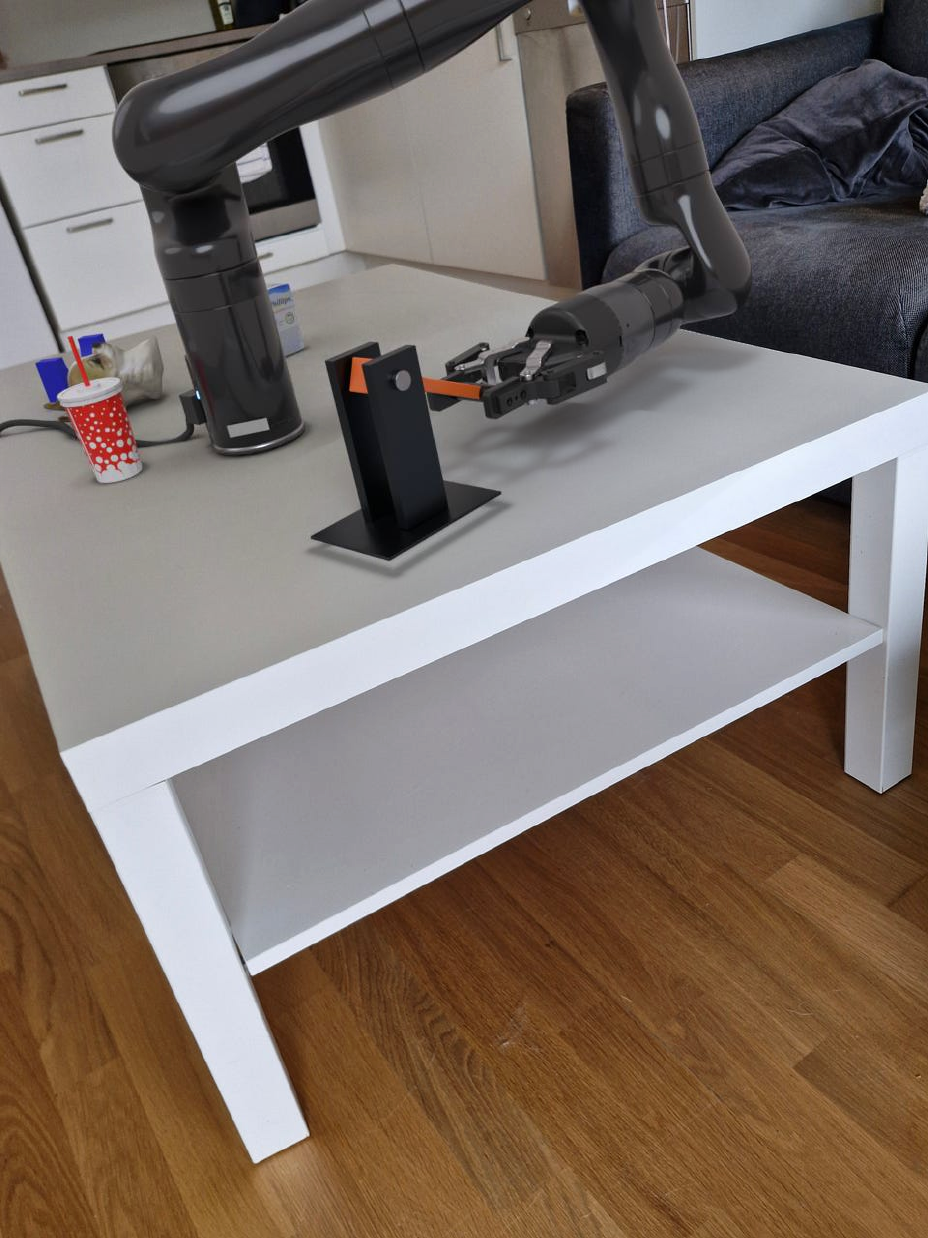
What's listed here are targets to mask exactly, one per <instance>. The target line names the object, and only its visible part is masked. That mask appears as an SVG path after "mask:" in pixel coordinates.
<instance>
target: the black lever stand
mask: <svg viewBox="0 0 928 1238" xmlns="http://www.w3.org/2000/svg"><path fill="white" fill-rule="evenodd" d="M380 348H381V347H380V344H379V342H378V341H368V342H365V343H362V344H360V345H358V346H355V347H354V348H353V347H352V348H350V349H349V350H346V351H343V352H341V353H339V354H337V355H334V356H332V357H329V358H328V359H325V360H324V364H325V369H326V373H327V376H328V377H327V378H328V380H329V386H330V389H331V393H332V396H333V401H334V405H335V410H336V413H337V417H338V421H339V424H340V429H341V433H342V436H343V441H344V446H345V450H346V452H347V456H348V461H349V466H350V469H351V474H352V477H353V482H354V485H355V489H356V493H357V497H358V501H359V506H360V508H359V509H357V510H356V511H354V512H352V513H350V514H348V515H346V516H345V517H343V518H341V519H339V520H338V521H335V522H334V523H331V524H330V525H328V526H326V527H324V528H323V529H321V530H319V531H317V532H316V533H314V534H312V535H310V539H311V540H314V541H317V542H321V543H324V544H327V545H331V546H334V547H338V548H341V549H345V550H349V551H353V552H355V553H359V554H363V555H367V556H370V557H373V558H376V559H380V560H383V561H387V562H391V561H392V560H394V559H396V558H397V557H399V556H400V555H403V554H404V553H405V552H408V551H409V550H411V549H412V548H414V547H416V546H417V545H420V544H421V543H422V542H424V541H426V540H428V539H429V538H431V537H433V536H434V535H436V534H437V533H439V532H441V531H442V530H444V529H446V528H448V527H449V526H451V525H452V524H454V523H456V522H457V521H460V520H461V519H462V518H465V516H467V515H469V514H470V513H473V512H474V511H475V510H476V511H477V509H479V508H481V507H482V506H485V505H486V504H487V503H489V502H490V501H493V500H494V499H496V498H497V497H499V496H501V495H502V491H501V490H496V489H492V488H486V487H481V486H475V485H470V484H467V483H461V482H456V481H450V480H445V479H444V477H443V472H442V468H441V463H440V458H439V453H438V449H437V444H436V439H435V434H434V428H433V424H432V420H431V414H430V408H429V403H428V398H427V393H426V392H425V389H424V385H423V380H422V377H423V375H422V370H421V366H420V361H419V355H418V350H417V345H415V344H404V345H402V346H400V347H398V348H395V349H393V350H391V351H388V352H386V353H383V354H382V352H381V349H380ZM353 357H357V358H368V359H372V360H370V361H368V362H366V363H363V364H362V365H361V366H362V370H363V374H364V379H365V383H366V387H367V392H368V394H365V393H357V392H350V391H349V389H350V379H351V369H352V359H353Z"/></svg>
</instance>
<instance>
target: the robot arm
mask: <svg viewBox="0 0 928 1238" xmlns="http://www.w3.org/2000/svg"><path fill="white" fill-rule="evenodd" d="M533 1H534V0H307V1H305V2H304V3H302V4H300V5H299V6H297V7H296V8H294V9H293V10H292V11H289V13H287V14H286V15H284V16H283V17H281V18H280V19H279V20H277V21H276V22H274V23H273V24H271V25H270V26H268V28H266V29H265V30H263V31H262V32H260V33H259V34H258V35H256V36H255V37H253V38H251V39H250V40H248V41H246V42H245V43H243V44H241V45H239V46H237V47H235V48H232V49H231V50H228V51H226V52H224V53H222V54H219V55H217V56H215V57H212V58H210V59H209V58H208V59H207V60H204V61H202V62H199V63H197V64H195V65H191V66H189V67H186V68H183V69H181V70H178V71H175V72H172V73H169V74H166V75H163V76H159V77H154V78H150V79H147V80H144V81H142V82H139V83H138V84H137V85H135V86H133V87H131V88H130V89H129V91H127V92H126V94H125V95H123V97H122V98H121V100H120V102H119V103H118V105H117V107H116V110H115V113H114V115H113V120H112V125H111V142H112V148H113V152H114V154H115V157H116V160H117V162H118V164H119V165H120V167H121V169H122V170H123V172H125V174H126V175H127V176H128V177H129V178H131V180H132V181H134V182H136V183H137V184H138V186H139V189H140V193H141V196H142V199H143V203H144V206H145V210H146V213H147V217H148V220H149V225H150V230H151V236H152V244H153V245H152V246H153V253H154V258H155V261H156V265H157V267H158V270H159V273H160V277H161V278H162V282H163V286H164V289H165V292H166V295H167V299H168V302H169V305H170V308H171V311H172V314H173V318H174V320H175V323H176V327H177V330H178V333H179V336H180V340H181V342H182V346H183V350H184V352H185V354H184V362H185V364H186V367H187V370H188V374H189V377H190V380H191V384H192V386H193V389H189V390H188V391H185V392H182V393H180V394H178V398H179V400H180V403H181V407H182V410H183V413H184V416H185V418H184V419H185V427H186V429H185V430H184V431H183V432H182V433H181V434H180V435H178V436H177V437H175V438H172V439H168V440H162V441H152V440H142V439H135V442H136V445H137V448H148V447H156V446H162V445H170V444H174V443H175V444H176V443H182V442H186V441H187V440H189V439H190V438H192V436H193V434H194V433H195V425H196V426H202V425H205V427H206V430H207V434H208V437H209V440H210V443H211V444H212V446H213V448H214V449H213V450H214V451H215V452H216V453H217V454H219V455H225V456H243V455H251V454H255V453H261V452H265V451H268V450H271V449H275V448H278V447H280V446H282V445H286V444H287V443H289V442H290V441H293V440H294V439H296V438H298V437H299V436H300V435H301V434H302V433H304V431H305V428H306V427H305V426H306V425H305V422H304V419H303V418H302V415H301V412H300V407H299V404H298V400H297V396H296V392H295V388H294V385H293V380H292V376H291V373H290V369H289V366H288V362H287V358H286V357H285V354H284V350H283V347H282V343H281V339H280V335H279V332H278V328H277V324H276V320H275V317H274V313H273V309H272V306H271V302H270V298H269V294H268V291H267V287H266V284H267V283H266V280H265V276H264V273H263V269H262V265H261V262H260V258H259V256H258V255H259V253H258V251H257V246H256V243H255V242H256V241H255V239H254V234H253V233H254V232H253V228H252V221H251V217H250V212H249V208H248V203H247V200H246V196H245V193H244V188H243V185H242V181H241V177H240V173H239V169H238V166H237V161H239V160H241V159H242V158H244V157H245V156H247V155H249V154H250V153H251V152H253V151H255V150H257V149H258V148H259V147H262V146H263V145H265V144H266V143H268V142H269V141H272V140H274V139H275V138H277V137H279V136H281V135H284V134H285V133H287V132H289V131H292V130H294V129H297V128H299V127H301V126H302V127H303V126H304V125H308V124H311V123H314V122H316V121H319V120H322V119H326V118H328V117H331V116H333V115H337V114H340V113H342V112H345V111H347V110H350V109H352V108H355V107H357V106H360V105H362V104H365V103H367V102H369V101H372V100H374V99H377V98H379V97H381V96H383V95H384V96H385V94H389V93H390V92H392V91H394V90H396V89H398V88H400V87H403V86H404V85H407V84H408V83H410V82H412V81H414V80H416V79H418V78H420V77H422V76H424V75H426V74H428V73H430V72H432V71H434V70H435V69H437V68H438V67H440V66H441V65H443V64H445V63H447V62H448V61H450V60H451V59H453V58H454V57H456V56H457V55H459V54H460V53H462V52H463V51H465V50H466V49H468V48H469V47H470V46H472V45H474V44H475V43H476V42H477V41H479V40H480V39H482V38H483V37H484V36H486V35H487V34H488V33H490V32H491V31H492V30H493V29H495V28H496V27H497V26H499V25H500V24H501V23H502V22H504V21H505V20H506V19H507V18H509V17H510V16H512V15H513V14H515V12H517V11H519V10H520V9H522V8H523V7H525V6H526V5H528V4H530V3H531V2H533ZM576 1H577V3H578V7H579V8H580V11H581V13H582V15H583V18H584V20H585V23H586V25H587V28H588V31H589V34H590V36H591V39H592V42H593V45H594V48H595V51H596V54H597V57H598V60H599V63H600V66H601V69H602V71H603V72H602V73H603V76H604V79H605V83H606V86H607V90H608V94H609V98H610V102H611V105H612V106H611V107H612V110H613V114H614V117H615V121H616V126H617V130H618V134H619V138H620V142H621V146H622V150H623V155H624V158H625V163H626V166H627V171H628V174H629V179H630V182H631V187H632V190H633V194H634V197H635V202H636V206H637V208H638V212H639V215H640V218H641V220H642V221H643V223H644V224H645V225H647V226H650V227H659V228H660V227H661V228H663V227H668V228H673V229H676V230H677V231H678V232H679V233H680V234H681V236H682V237H683V239H684V241H685V242H686V243H687V245H688V246H687V245H686V246H682V247H680V248H675V249H672V250H668V251H665V252H662V253H659V254H658V255H655V256H653V257H651V258H649V259H647V260H644V261H643V262H642V263H640V264H639V265H638V266H637V267H635V268H634V270H632V271H631V272H628V273H626V274H624V275H621V276H620V277H617V278H616V279H613V280H611V281H609V282H606V283H603V284H598V285H594V286H592V287H588V288H587V289H584V290H583V291H580V292H578V293H576V294H573V295H572V296H569V297H568V298H565V299H563V300H560V301H559V302H556V303H554V304H552V305H549V306H547V307H546V308H543V309H542V310H540V311H539V312H537V313H536V314H535V316H534V317H533V318H531V319H532V320H531V321H530V323H529V324H528V327H527V330H526V332H525V335H524V336H522V337H518V338H515V339H511V340H510V341H508V343H507V344H506V345H502V346H499V347H495V348H492V349H491V347H490V343H489V342H484V341H482V342H479V343H477V344H476V345H473V346H472V347H470V348H468V349H467V350H465V351H464V352H462V353H460V354H459V355H456V356H455V357H454V358H452V359H450V360H448V361H447V362H445V363H444V367H445V373H446V376H443V377H442V378H440V379H438V380H443V381H450V382H455V381H461V382H471V383H479V381H481V382H480V384H490V385H496V386H494V387H492V388H490V389H488V390H486V391H484V393H483V396H482V399H483V403H482V404H483V410H484V415H485V417H486V419H488V420H498V419H500V418H503V416H505V415H508V414H509V413H511V412H513V411H515V410H517V409H519V408H521V407H522V406H531V407H532V406H536V405H537V404H540V402H541V401H542V400H545V401H546V404H547V405H549V406H556V405H558V404H561V403H563V402H565V401H567V400H570V399H572V398H575V397H577V396H580V395H582V394H584V393H586V392H590V391H592V390H593V389H597V388H599V387H600V386H603V385H605V384H607V383H608V378H609V377H610V376H612V375H614V374H616V373H617V372H620V371H621V370H623V369H625V368H626V367H628V366H629V365H631V364H632V363H633V362H634V361H636V360H637V359H638V358H639V357H641V356H642V355H645V354H646V353H648V352H650V351H652V350H654V349H655V348H657V347H659V346H661V345H662V344H664V343H666V342H667V341H669V339H671V337H673V336H674V335H675V334H676V333H677V332H678V330H679V329H680V328H681V326H682V325H686V324H690V323H695V322H700V321H705V320H711V319H717V318H721V317H725V316H729V315H733V314H734V313H737V312H738V311H740V310H741V309H743V307H744V306H745V304H746V303H747V301H748V299H749V297H750V295H751V291H752V287H753V266H752V261H751V258H750V256H749V253H748V250H747V247H746V246H745V244H744V242H743V240H742V239H741V237H740V235H739V233H738V231H737V229H736V228H735V225H734V224H733V222H732V221H731V219H730V217H729V214H728V213H727V211H726V208H725V207H724V204H723V203H722V201H721V199H720V197H719V194H718V193H717V191H716V189H715V186H714V183H713V180H712V176H711V171H709V170H710V167H709V161H708V158H707V154H706V149H705V144H704V141H703V136H702V132H701V128H700V125H699V121H698V120H699V119H698V117H697V114H696V111H695V107H694V105H693V101H692V99H691V97H690V94H689V92H688V89H687V87H686V84H685V82H684V80H683V78H682V75H681V73H680V71H679V69H678V66H677V64H676V62H675V59H674V58H673V55H672V53H671V51H670V48H669V46H668V43H667V39H666V36H665V34H664V29H663V27H662V23H661V20H660V16H659V10H658V6H657V0H576ZM495 367H497V372H498V377H499V380H500V381H501V382H498V383H497V378H496V372H495ZM425 394H426V399H427V403H428V408H429V410H430V411H432V412H439V413H440V412H442V411H445V410H447V409H449V408H450V407H452V406H454V405H456V404H459V403H460V402H463V400H457V399H453V398H452V397H451V395H444V394H437V393H430V392H425ZM13 427H38V428H55V429H60V430H63V431H64V432H65V433H66V434H68V436H70V437H73V438H75V439H78V437H77V434H76V432H75V430H74V428H73V427H71V426H70V425H68V424H67V422H66V423H63V422H58V421H57V420H46V419H44V420H43V419H30V418H29V419H28V418H20V419H18V418H17V419H9V420H6V421H3V422H1V423H0V434H1V433H2V432H3V431H5V430H7V429H9V428H13Z"/></svg>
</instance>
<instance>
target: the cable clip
mask: <svg viewBox="0 0 928 1238" xmlns="http://www.w3.org/2000/svg"><path fill="white" fill-rule="evenodd" d="M77 342H78V345H79V350H80V358H82V357H85V356H88V355H92V343H94V342H100V343H101V342H105V343H107V342H106V339H105V336H104V334H103V333H95V334H89V335H82V336H81V337H79V338H77ZM34 365H35V366H36V370H37V373H38V375H39V377H40V380H41V383H42V385H43V388H44V390H45V393H46V396H47V399H48V401H49V403H55V402H56V401H57V400H58V399H57V396H58V394H59V393H61V392H62V391H63V390H65V389H68V388H69V387H68V384H67V374H68V371H69V368H68V367H67V365H66V363H65V361H64V359H63V356H59V357H58V356H57V357H51V358H43V359H40V360H39V361H37V362H35V363H34Z"/></svg>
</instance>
